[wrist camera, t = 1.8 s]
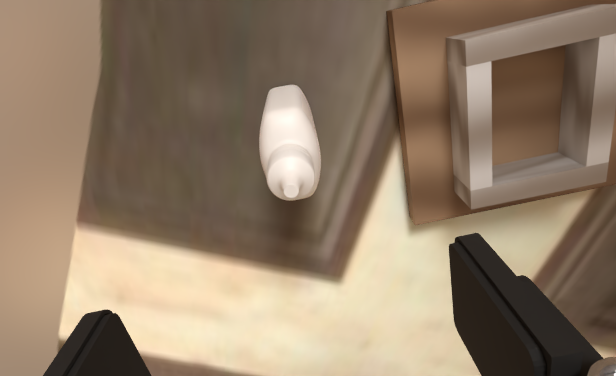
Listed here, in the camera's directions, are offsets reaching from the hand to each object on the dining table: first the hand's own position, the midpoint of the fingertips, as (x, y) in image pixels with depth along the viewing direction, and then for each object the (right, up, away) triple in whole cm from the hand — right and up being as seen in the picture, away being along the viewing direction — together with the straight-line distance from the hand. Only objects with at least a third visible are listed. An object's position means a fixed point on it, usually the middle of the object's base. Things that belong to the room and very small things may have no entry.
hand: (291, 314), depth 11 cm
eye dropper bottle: (-1, +8, +18) cm, 20 cm away
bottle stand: (+15, +10, +18) cm, 25 cm away
